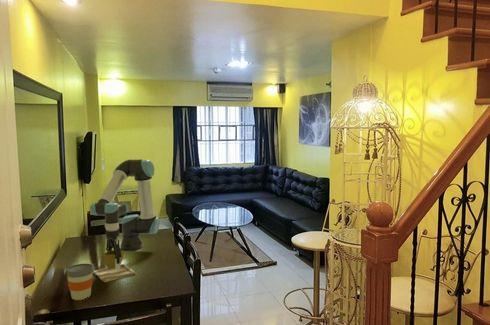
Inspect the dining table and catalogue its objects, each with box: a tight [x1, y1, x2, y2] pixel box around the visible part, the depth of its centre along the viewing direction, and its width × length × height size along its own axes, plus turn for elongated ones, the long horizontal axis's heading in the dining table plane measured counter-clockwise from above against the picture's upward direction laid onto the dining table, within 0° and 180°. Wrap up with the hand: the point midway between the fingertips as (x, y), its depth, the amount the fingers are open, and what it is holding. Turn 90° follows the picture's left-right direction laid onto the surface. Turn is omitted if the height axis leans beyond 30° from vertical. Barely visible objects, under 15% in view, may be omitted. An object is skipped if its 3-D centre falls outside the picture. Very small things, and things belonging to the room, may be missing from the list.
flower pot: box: [102, 249, 124, 269], centre depth 224 cm, size 9×9×9 cm
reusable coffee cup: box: [66, 263, 94, 301], centre depth 195 cm, size 13×12×15 cm
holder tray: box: [93, 263, 136, 283], centre depth 225 cm, size 18×18×2 cm
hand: (114, 266), depth 225 cm, fingers closed on flower pot, 11 cm apart
